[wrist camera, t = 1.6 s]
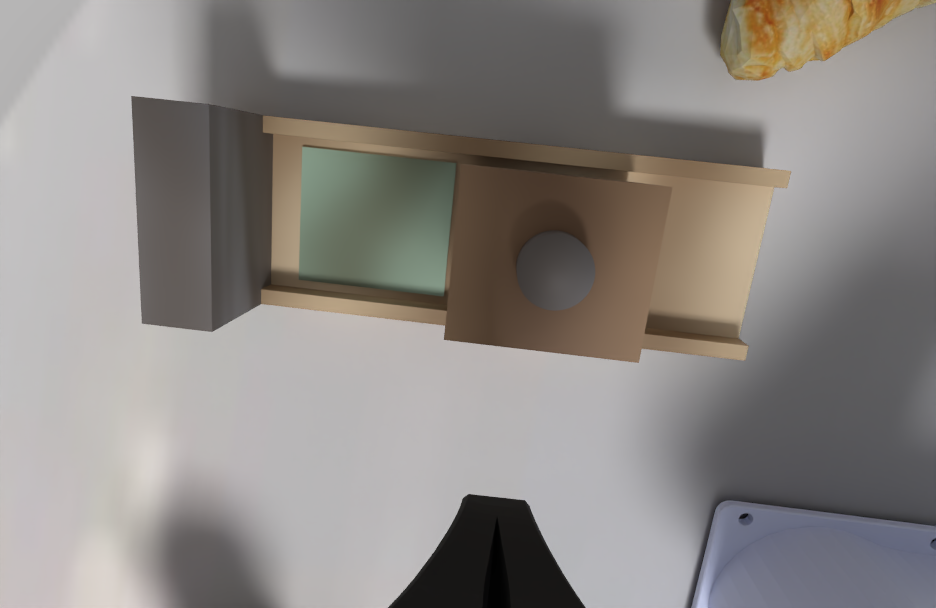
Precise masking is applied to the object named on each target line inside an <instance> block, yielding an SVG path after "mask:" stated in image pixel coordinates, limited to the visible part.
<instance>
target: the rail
mask: <svg viewBox="0 0 936 608" xmlns="http://www.w3.org/2000/svg"><path fill="white" fill-rule="evenodd" d="M131 97H132V119H133V140H134V162H135V183H136V205H137V226H138V248H139V269H140V291H141V312H142V324H151V325H159V326H168V327H176V328H184V329H193V330H201V331H209V332H213V331H214V330H216V329H218V328H220V327H221V326H223V325H225V324H227V323H228V322H230V321H232V320H234V319H235V318H237V317H239V316H241V315H242V314H244V313H246V312H248V311H249V310H251V309H253V308H255V307H256V306H258V305H260V304H267V305H275V306H284V307H292V308H301V309H309V310H318V311H326V312H335V313H343V314H352V315H360V316H369V317H378V318H386V319H395V320H403V321H412V322H420V323H429V324H437V325H446V314H447V304H448V294H449V283H450V273H451V263H452V253H453V242H454V232H455V222H456V211H457V201H458V191H459V180H460V170H461V164H463V165H478V166H488V167H497V168H506V169H516V170H525V171H534V172H544V173H553V174H563V175H572V176H581V177H591V178H600V179H609V180H619V181H628V182H636V183H644V184H652V185H660V186H668V187H672V192H671V198H670V203H669V208H668V213H667V219H666V224H665V229H664V234H663V239H662V245H661V250H660V255H659V260H658V265H657V271H656V276H655V281H654V286H653V291H652V297H651V302H650V307H649V312H648V317H647V323H646V328H645V333H644V338H643V343H642V349H650V350H659V351H667V352H676V353H684V354H693V355H701V356H710V357H718V358H727V359H735V360H744V361H745V359H746V355H747V351H748V347H749V346H748V345H747V344H745V343H744V342H742V341H741V340H740V339H738V338H739V334H740V330H741V326H742V321H743V317H744V313H745V309H746V304H747V300H748V296H749V292H750V288H751V283H752V279H753V275H754V271H755V267H756V262H757V258H758V254H759V250H760V245H761V241H762V237H763V233H764V229H765V224H766V220H767V216H768V212H769V208H770V203H771V199H772V195H773V191H774V187H779V188H787V186H788V182H789V178H790V174H791V171H786V170H777V169H767V168H758V167H748V166H738V165H729V164H719V163H710V162H700V161H691V160H681V159H672V158H662V157H653V156H643V155H634V154H624V153H615V152H605V151H596V150H586V149H577V148H567V147H558V146H548V145H539V144H529V143H520V142H510V141H501V140H491V139H482V138H472V137H463V136H453V135H444V134H434V133H424V132H415V131H405V130H396V129H386V128H377V127H367V126H358V125H348V124H339V123H329V122H320V121H310V120H301V119H291V118H282V117H272V116H263V115H258V114H253V113H248V112H244V111H239V110H234V109H229V108H225V107H220V106H215V105H210V104H202V103H192V102H183V101H173V100H164V99H154V98H145V97H135V96H131Z"/></svg>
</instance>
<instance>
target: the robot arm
mask: <svg viewBox="0 0 936 608" xmlns="http://www.w3.org/2000/svg"><path fill="white" fill-rule="evenodd" d="M744 513H749V514H748V516H747V517H746V518H744V519H739V517H740V515H742V514H744ZM935 538H936V526H930V525H922V524H914V523H906V522H899V521H891V520H883V519H875V518H867V517H859V516H851V515H843V514H835V513H827V512H819V511H811V510H804V509H796V508H788V507H780V506H772V505H764V504H756V503H748V502H740V501H732V500H730V501H724V502H722V503H720V504H719V505H718V506H717V508H716V510H715V514H714V518H713V522H712V526H711V530H710V534H709V538H708V542H707V546H706V550H705V555H704V559H703V563H702V567H701V571H700V575H699V579H698V583H697V587H696V591H695V595H694V599H693V603H692V607H691V608H936V540H935V541H933V542H932V543H931V541H932V540H933V539H935ZM388 608H585V606H584V605H583V603H582V602H581V601H580V599H579V598H578V596H577V595H576V593H575V592H574V590H573V589H572V587H571V586H570V584H569V582H568V581H567V579H566V578H565V576H564V574H563V573H562V571H561V569H560V567H559V566H558V564H557V562H556V560H555V559H554V557H553V555H552V554H551V552H550V550H549V548H548V546H547V544H546V542H545V540H544V538H543V536H542V534H541V532H540V530H539V528H538V526H537V524H536V522H535V519H534V517H533V514H532V512H531V509H530V506H529V505H528V504H527V502H526V501H525V500H516V499H507V498H498V497H489V496H480V495H471V494H468V495H467V496H465V497H464V498H463V500H462V503H461V506H460V508H459V511H458V513H457V515H456V517H455V519H454V521H453V523H452V524H451V526H450V528H449V530H448V531H447V533H446V534H445V536H444V538H443V539H442V541H441V542H440V544H439V545H438V547H437V549H436V550H435V552H434V553H433V554H432V556H431V557H430V558H429V560H428V561H427V562H426V564H425V565H424V566H423V568H422V569H421V570H420V572H419V573H418V574H417V576H416V577H415V578H414V579H413V581H412V582H411V583H410V584H409V585H408V586H407V588H406V589H405V590H404V591H403V592H402V593H401V595H400V596H399V597H398V598H397V599H396V600H395V601H394V602H393V603H392V604H391V605H390V606H389V607H388Z"/></svg>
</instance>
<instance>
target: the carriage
mask: <svg viewBox="0 0 936 608" xmlns="http://www.w3.org/2000/svg"><path fill="white" fill-rule="evenodd" d="M671 192H672V187H668V186H660V185H652V184H644V183H636V182H628V181H619V180H609V179H600V178H591V177H581V176H572V175H563V174H553V173H544V172H534V171H525V170H516V169H506V168H497V167H488V166H478V165H463V164H461V170H460V180H459V191H458V201H457V211H456V222H455V232H454V242H453V253H452V263H451V273H450V283H449V294H448V304H447V314H446V325H445V335H444V340H451V341H459V342H468V343H476V344H485V345H493V346H502V347H510V348H519V349H527V350H536V351H544V352H552V353H561V354H569V355H578V356H586V357H595V358H603V359H612V360H620V361H629V362H637V363H639V359H640V354H641V349H642V343H643V338H644V333H645V328H646V323H647V317H648V312H649V307H650V302H651V297H652V291H653V286H654V281H655V276H656V271H657V265H658V260H659V255H660V250H661V245H662V239H663V234H664V229H665V224H666V219H667V213H668V208H669V203H670V198H671Z"/></svg>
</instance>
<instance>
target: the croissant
mask: <svg viewBox="0 0 936 608" xmlns="http://www.w3.org/2000/svg"><path fill="white" fill-rule="evenodd" d="M933 3H936V0H731V2H730V5H729V9H728V12H727V16H726V20H725V24H724V28H723V32H722V34H721V50H720V55H721V57H722V59H723V61H724V62H725V64H726V66H727V69H728V73H729V74H730V75H731V76H733V77H734V78H735V79H736V80H762V79H765V78H769V77H772V76H774V75H775V73H776V72H777V71H778V70H779V69H781V68H785V69H786V70H787V71H794V70H798V69H800V68H802V66H803V65H804V64H805V63H806V62H807V61H812V60H821V61H825V60H827V59H828V58H830V57H831V56H833V55H834V54H836V53H837V52H839V51H840V50H841V48H843V47H845V46H847V45H849V44H851V43H853V42H855V41H857V40H859V39H861V38H863V37H865V36H867V35H868V34H869V33H871V31H874V30H876V29H879V28H881V27H883V26H884V25H885V24H887V23H888V22H889V21H891V20H892V19H894V18H896V17H898V16H901V15H903V14H905V13H907V12H909V11H912V10H913V9H914V8H920V7H923V6H927V5H930V4H933Z"/></svg>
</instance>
